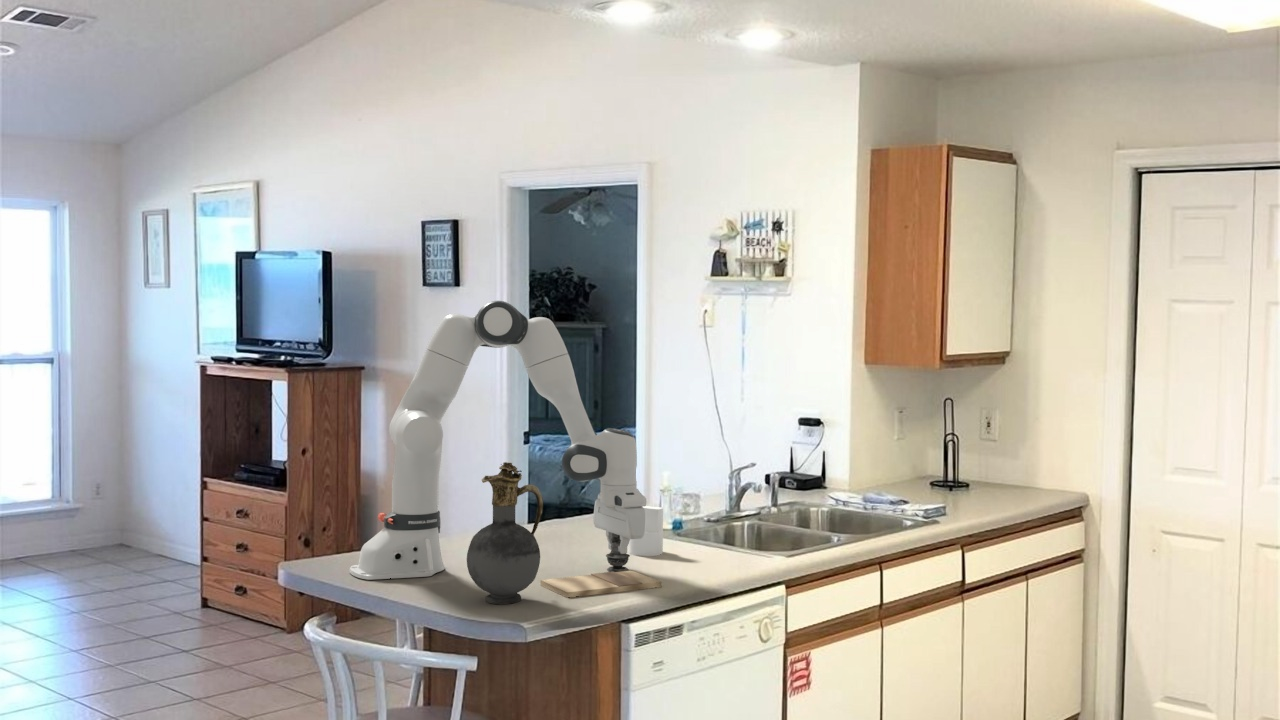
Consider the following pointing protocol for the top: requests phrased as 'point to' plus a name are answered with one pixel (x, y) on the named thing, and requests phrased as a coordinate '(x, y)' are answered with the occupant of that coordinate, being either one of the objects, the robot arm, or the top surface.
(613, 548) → the salt shaker
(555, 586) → the plywood board
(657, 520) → the white canister
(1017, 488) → the top surface
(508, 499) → the pitcher
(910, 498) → the top surface
